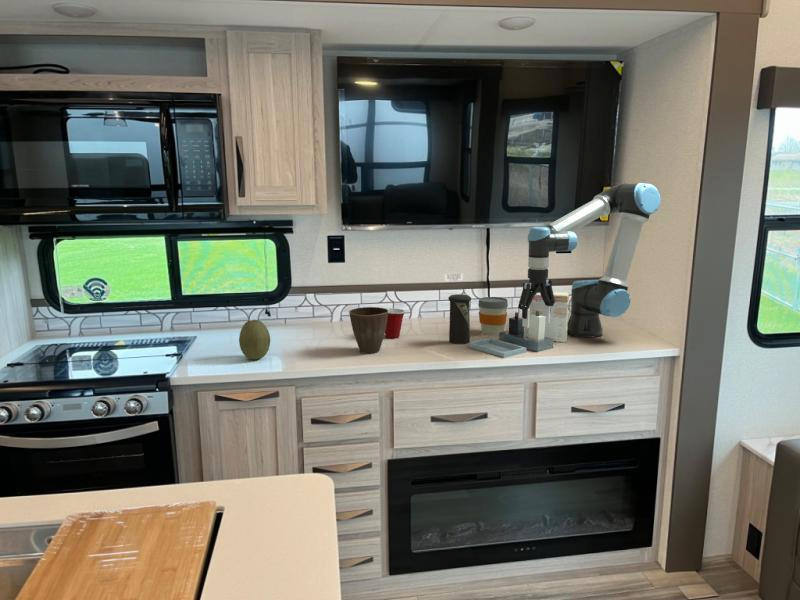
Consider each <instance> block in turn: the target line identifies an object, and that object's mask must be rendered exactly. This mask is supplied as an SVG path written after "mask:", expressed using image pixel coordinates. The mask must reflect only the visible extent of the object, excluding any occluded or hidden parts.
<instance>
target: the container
mask: <svg viewBox="0 0 800 600" xmlns="http://www.w3.org/2000/svg"><path fill="white" fill-rule="evenodd" d="M447 299H448V301H449V329H448V330H449V331H448V332H449V334H448V340H449V341H448V342H449V343H450V344H454V345H468V343H470V338H471V337H470V336H471V335H470V331H471V330H470V329H471V328H470V326H471V325H470V315H471V313H470V302H471V301H472V297H471V296H470V295H468V294H463V293H461V294H460V293H459V294H457V293H455V294H451V295H449V296H448V298H447Z"/></svg>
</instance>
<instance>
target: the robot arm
mask: <svg viewBox="0 0 800 600" xmlns="http://www.w3.org/2000/svg"><path fill="white" fill-rule="evenodd" d="M660 206H661V195H660V192H659V190H658V188H657V187H656V186H654V185H653V184H651V183H644V182H639V183H620V184H617V185H614V186H612V187H610V188H608V189H606V190H604V191H602V192H600V193H598V194H597V195H595V196H594V197H593V199H592V200H591V201H589V202H587V203H585V204H583V205H581V206H580V207H577V208H576V209H574V210H573V211H570V212H569V213H567V214H566V215H564V216H562V217H560V218H558V219H556V220H555V221H553V222H551V223H549V224H547V225H544V226H532V227H531V228H529V232H528V234H527V242H528V261H527V262H528V263H527V265H528V269H527V279H529V281H528V282H523V284H522V291H521V295H520V299H519V302H518V306H517V309H519V310H521V318H522V319H523V321H522V326H524V328H529V316H530V304H531V302H532V300H533V298H534V296H535V295H536V294H537V293H540V294H541V296H542V299H543V301H544V303H545V305H544V307H543V316H545V317H546V318H545V322H546V323H550V313H551V306H553V305H554V303H555V299H554V295H553V292H554V290H553V287H552V286H553V285H552V283H553V282H552V279H551V280H550V279H548V278H549V269H548V268H549V265H550V264H549V263H550V260H549V259H550V258H549V257H550V255H549V254H550V253H552V252H570V251H574V250H575V249H576V248H577V247H578V242H579V241H578V235H577V234H576V233H575V232H576V231H577V230H579V229H581V228H583V227H585V226H587V225H588V224H590V223H591V222H594V221H596V220H598V219H599V218H600V217H607V216H609V215H611V214H615V213H617V214H618V216H619V218H620V221H619V225H618V227H617V231H616V235H615V237H614V240H613V241H614V242H613V243H612V248H611V251H610V255H609V258H608V261H607V265H606V268H605V271H604V275H603V276H602V277H601V278H599V279H584V280H574V281H573V282H572V285H571V293H570V294H571V300H570V315H569V317H568V329H567V335H570V336H572V337H574V336H575V337H577V338H578V337H581V338H596V337H597V338H598V337H600V336H603V334H604V330H603V329H604V327H603V325H602V322H601V317H600V315H602V316H604V317H606V318H607V317H608V318H609V317H610V318H619V317H621V316H622V315H624V314H625V313H626V312H627V310H628V309H629V308H630V305H631V300H632V299H631V297H630V296H631V295H630V293H629V292H628V289H629V285H628V283H627V280H628V279H627V278H628V275H629V272H630V268H631V266H632V262H633V259H634V256H635V252H636V248H637V245H638V242H639V240H640V235H641V232H642V228H643V225H644V224H645V223H647V222H648V221H649V219H650V216H651V215H652V214H654V213H656V212H657V211H658V210H659V208H660Z"/></svg>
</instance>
